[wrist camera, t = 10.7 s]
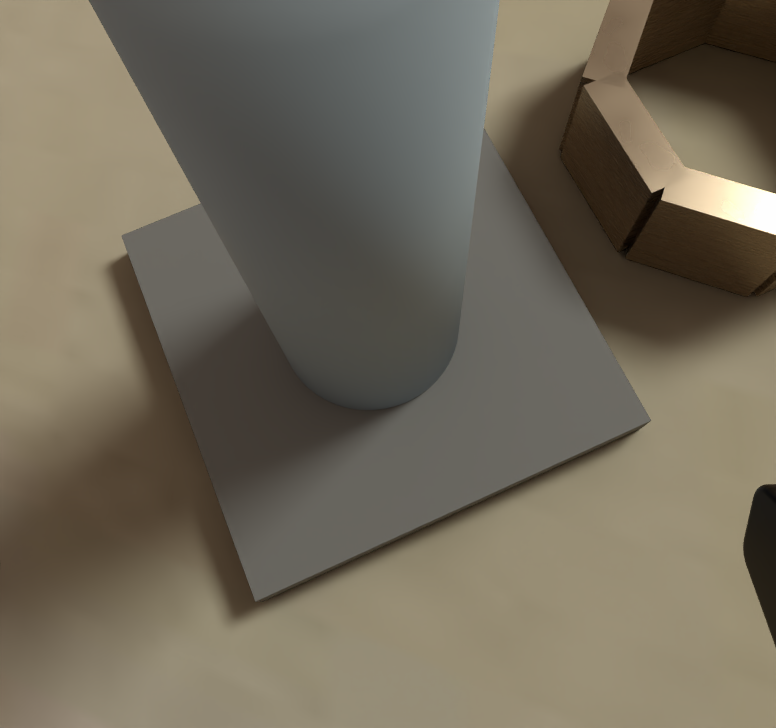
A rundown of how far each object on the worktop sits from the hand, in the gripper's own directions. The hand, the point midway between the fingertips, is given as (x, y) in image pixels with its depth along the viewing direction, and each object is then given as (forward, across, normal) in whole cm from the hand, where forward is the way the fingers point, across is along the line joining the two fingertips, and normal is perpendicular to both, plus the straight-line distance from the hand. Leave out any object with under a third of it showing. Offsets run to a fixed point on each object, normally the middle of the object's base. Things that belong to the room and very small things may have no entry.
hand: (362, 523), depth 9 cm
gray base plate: (+10, 0, +2) cm, 11 cm away
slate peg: (+10, 0, +2) cm, 10 cm away
